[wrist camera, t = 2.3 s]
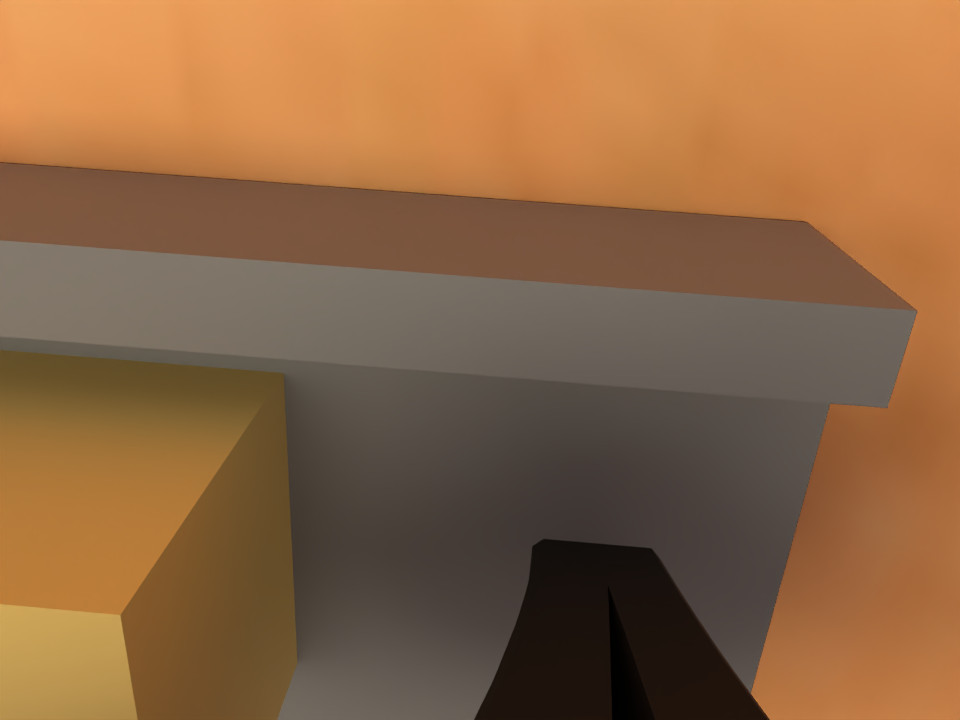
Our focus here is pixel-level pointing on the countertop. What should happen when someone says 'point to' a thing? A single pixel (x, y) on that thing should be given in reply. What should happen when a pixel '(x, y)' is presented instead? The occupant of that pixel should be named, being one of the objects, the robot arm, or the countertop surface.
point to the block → (143, 541)
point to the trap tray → (472, 392)
